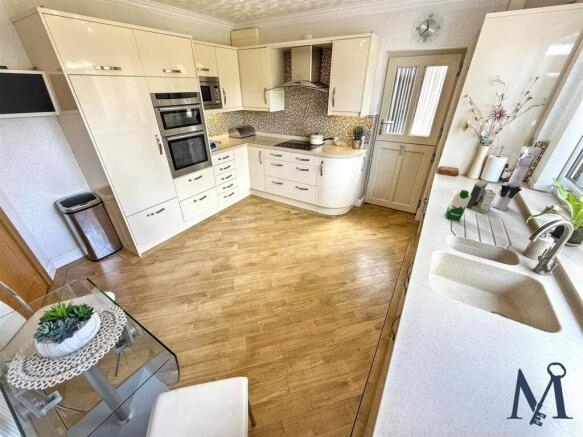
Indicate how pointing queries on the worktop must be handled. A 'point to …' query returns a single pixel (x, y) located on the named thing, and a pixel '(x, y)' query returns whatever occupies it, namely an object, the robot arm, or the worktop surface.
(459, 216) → the milk carton
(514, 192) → the robot arm
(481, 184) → the grey block
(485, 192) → the syrup box
